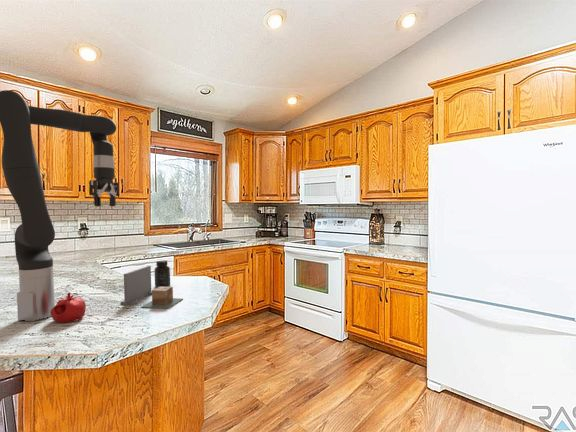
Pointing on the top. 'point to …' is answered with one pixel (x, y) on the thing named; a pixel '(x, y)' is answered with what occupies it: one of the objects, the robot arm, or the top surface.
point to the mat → (169, 305)
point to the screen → (137, 285)
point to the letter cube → (162, 295)
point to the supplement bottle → (162, 274)
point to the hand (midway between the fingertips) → (105, 206)
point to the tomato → (68, 309)
